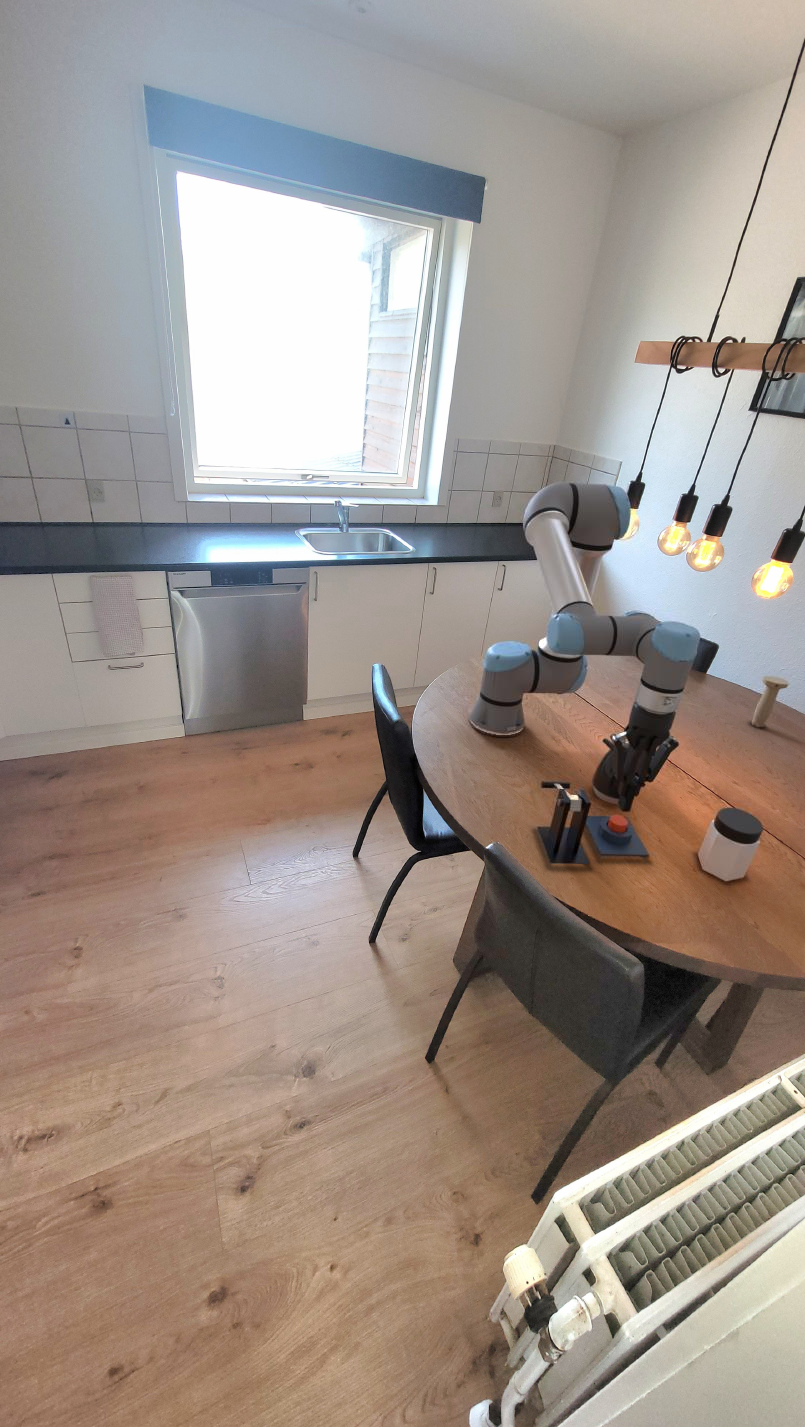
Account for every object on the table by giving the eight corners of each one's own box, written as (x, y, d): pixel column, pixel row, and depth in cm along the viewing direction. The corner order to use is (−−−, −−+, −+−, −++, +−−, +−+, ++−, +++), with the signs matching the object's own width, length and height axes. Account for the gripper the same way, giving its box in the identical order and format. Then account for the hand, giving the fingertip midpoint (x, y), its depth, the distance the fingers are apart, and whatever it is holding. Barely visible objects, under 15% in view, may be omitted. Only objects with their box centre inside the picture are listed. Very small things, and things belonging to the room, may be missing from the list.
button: (605, 822, 124) (607, 814, 123) (621, 822, 124) (624, 814, 123) (611, 833, 121) (613, 825, 120) (628, 833, 121) (630, 826, 120)
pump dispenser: (597, 779, 144) (612, 726, 137) (639, 798, 139) (657, 743, 131) (580, 798, 137) (595, 742, 130) (623, 818, 131) (641, 761, 124)
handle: (770, 731, 172) (790, 685, 165) (746, 726, 174) (765, 681, 167) (767, 724, 176) (786, 679, 169) (744, 719, 178) (762, 674, 171)
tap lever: (540, 788, 126) (541, 778, 126) (567, 789, 127) (568, 779, 126) (560, 811, 114) (561, 799, 113) (590, 811, 114) (591, 800, 114)
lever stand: (535, 831, 125) (547, 778, 119) (572, 832, 126) (586, 779, 119) (549, 868, 116) (563, 813, 109) (588, 869, 116) (605, 814, 110)
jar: (749, 868, 120) (771, 822, 114) (737, 888, 114) (759, 841, 109) (704, 845, 125) (723, 800, 119) (690, 864, 120) (709, 818, 114)
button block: (580, 822, 129) (584, 807, 127) (624, 823, 130) (629, 808, 128) (599, 860, 119) (603, 845, 117) (646, 861, 119) (652, 846, 118)
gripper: (628, 714, 105) (598, 818, 116) (698, 717, 106) (662, 820, 117) (613, 695, 111) (586, 795, 123) (679, 697, 112) (646, 797, 124)
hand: (623, 807), depth 120 cm, fingers closed
